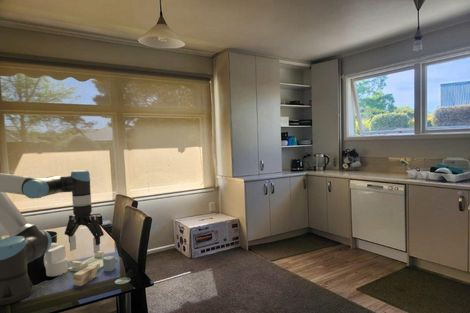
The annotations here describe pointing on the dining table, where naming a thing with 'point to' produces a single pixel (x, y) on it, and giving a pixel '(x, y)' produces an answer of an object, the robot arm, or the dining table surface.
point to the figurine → (49, 249)
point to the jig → (89, 262)
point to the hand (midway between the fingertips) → (84, 251)
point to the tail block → (109, 263)
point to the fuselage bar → (85, 275)
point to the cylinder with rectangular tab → (56, 261)
